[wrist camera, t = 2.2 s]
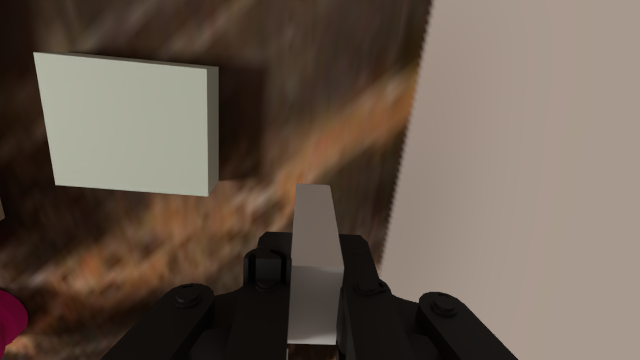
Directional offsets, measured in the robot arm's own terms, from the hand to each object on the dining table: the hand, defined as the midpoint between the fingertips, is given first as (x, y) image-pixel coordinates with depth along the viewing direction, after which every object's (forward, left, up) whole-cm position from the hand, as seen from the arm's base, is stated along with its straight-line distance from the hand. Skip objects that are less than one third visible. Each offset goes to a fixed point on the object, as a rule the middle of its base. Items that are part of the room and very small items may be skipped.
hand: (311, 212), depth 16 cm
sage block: (+14, 0, -16) cm, 21 cm away
